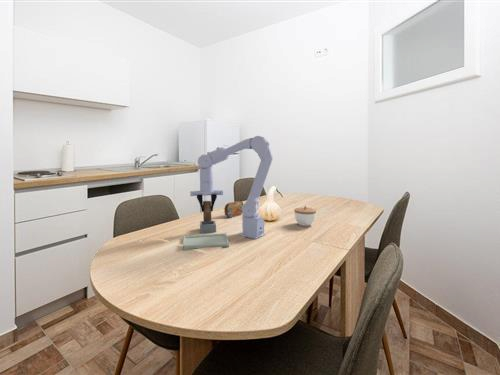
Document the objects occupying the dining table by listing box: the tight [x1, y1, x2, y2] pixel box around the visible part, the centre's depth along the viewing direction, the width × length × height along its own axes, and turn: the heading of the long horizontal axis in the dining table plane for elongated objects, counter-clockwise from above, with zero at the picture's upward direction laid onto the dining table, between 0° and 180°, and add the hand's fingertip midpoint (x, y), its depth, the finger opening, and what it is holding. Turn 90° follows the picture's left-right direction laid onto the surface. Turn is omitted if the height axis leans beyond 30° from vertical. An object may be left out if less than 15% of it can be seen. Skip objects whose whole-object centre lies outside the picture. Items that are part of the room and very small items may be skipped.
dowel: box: [202, 200, 212, 222], centre depth 131 cm, size 4×4×9 cm
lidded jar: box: [294, 206, 317, 227], centre depth 145 cm, size 11×11×9 cm
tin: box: [223, 200, 245, 219], centre depth 164 cm, size 15×3×8 cm, turn 143°
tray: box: [182, 233, 230, 251], centre depth 118 cm, size 18×13×2 cm
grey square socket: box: [199, 220, 217, 234], centre depth 134 cm, size 7×7×4 cm
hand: (207, 211), depth 131 cm, fingers closed on dowel, 4 cm apart
